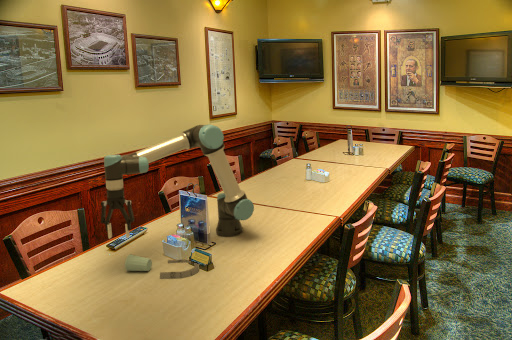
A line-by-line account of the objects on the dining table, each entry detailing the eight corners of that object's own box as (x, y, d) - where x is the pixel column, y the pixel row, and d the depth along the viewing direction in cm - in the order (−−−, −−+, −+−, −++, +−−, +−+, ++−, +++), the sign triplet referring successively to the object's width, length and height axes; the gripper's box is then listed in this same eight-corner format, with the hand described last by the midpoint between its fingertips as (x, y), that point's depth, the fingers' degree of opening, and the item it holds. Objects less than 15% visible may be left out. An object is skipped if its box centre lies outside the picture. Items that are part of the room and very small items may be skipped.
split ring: (201, 263, 215) (201, 258, 215) (195, 277, 197) (195, 272, 197) (168, 264, 215) (168, 260, 215) (160, 278, 197) (159, 273, 197)
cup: (144, 273, 202) (123, 271, 204) (151, 273, 209) (131, 270, 212) (146, 256, 203) (126, 254, 205) (153, 256, 210) (134, 254, 213)
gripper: (139, 186, 205) (143, 234, 208) (96, 188, 206) (100, 235, 209) (134, 189, 198) (138, 238, 201) (89, 191, 198) (94, 240, 201)
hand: (119, 237), depth 205 cm, fingers open, 8 cm apart
